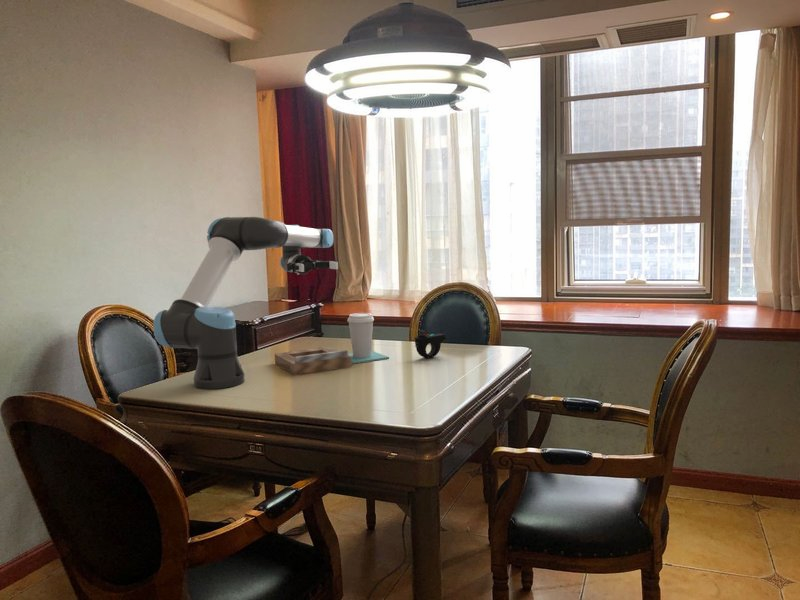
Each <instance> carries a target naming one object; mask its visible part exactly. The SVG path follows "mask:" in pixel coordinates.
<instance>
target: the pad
mask: <svg viewBox="0 0 800 600" xmlns="http://www.w3.org/2000/svg"><path fill="white" fill-rule="evenodd" d="M348 355H349V356H351V365H355V364H354V363H357V364H361V363H360V362H363V363H368V362H369V361H370V362H375V361H382V360H384V361H385V360H389V359H390V356H387V355H385V354H382V353H380V352H376V351H374V350H371V356H370V357H367V358H355V357H353V352H352V353H351V352H350V353H348Z"/></svg>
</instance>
